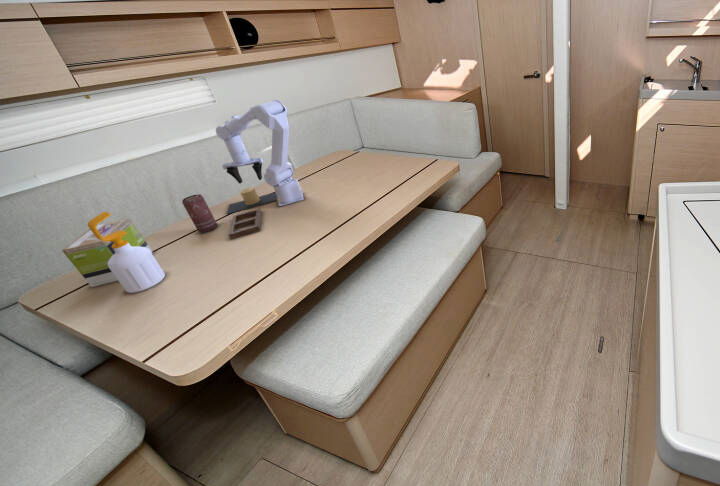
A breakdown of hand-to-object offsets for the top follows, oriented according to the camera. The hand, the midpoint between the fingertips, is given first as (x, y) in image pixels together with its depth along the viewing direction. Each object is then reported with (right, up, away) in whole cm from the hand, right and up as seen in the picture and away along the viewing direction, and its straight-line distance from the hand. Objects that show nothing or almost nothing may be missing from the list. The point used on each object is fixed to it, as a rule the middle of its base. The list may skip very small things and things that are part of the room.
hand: (250, 180), depth 153 cm
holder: (+11, -17, -16) cm, 26 cm away
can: (-4, -19, -17) cm, 25 cm away
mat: (0, -10, +1) cm, 10 cm away
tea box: (-14, -30, -37) cm, 50 cm away
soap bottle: (+1, -32, -45) cm, 55 cm away
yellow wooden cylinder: (0, -9, +1) cm, 10 cm away
